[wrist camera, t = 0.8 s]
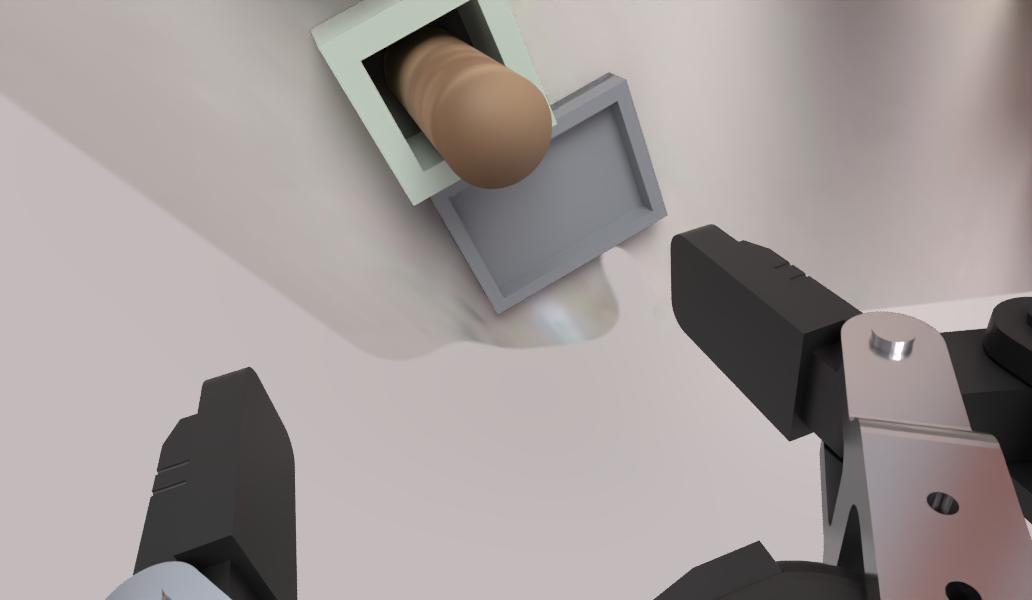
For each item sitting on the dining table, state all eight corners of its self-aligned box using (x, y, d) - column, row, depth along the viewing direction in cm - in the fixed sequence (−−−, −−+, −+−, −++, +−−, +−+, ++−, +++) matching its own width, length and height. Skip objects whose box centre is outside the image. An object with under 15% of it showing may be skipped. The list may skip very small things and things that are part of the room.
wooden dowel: (440, 8, 30) (526, 48, 20) (476, 84, 32) (567, 154, 22) (368, 48, 30) (418, 109, 20) (408, 122, 32) (471, 209, 22)
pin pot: (457, -52, 29) (489, -49, 25) (521, 99, 33) (557, 123, 29) (310, 29, 28) (317, 47, 24) (395, 171, 33) (413, 206, 29)
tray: (609, 72, 34) (626, 79, 33) (651, 203, 40) (667, 215, 38) (419, 180, 34) (427, 193, 32) (488, 298, 39) (497, 314, 37)
